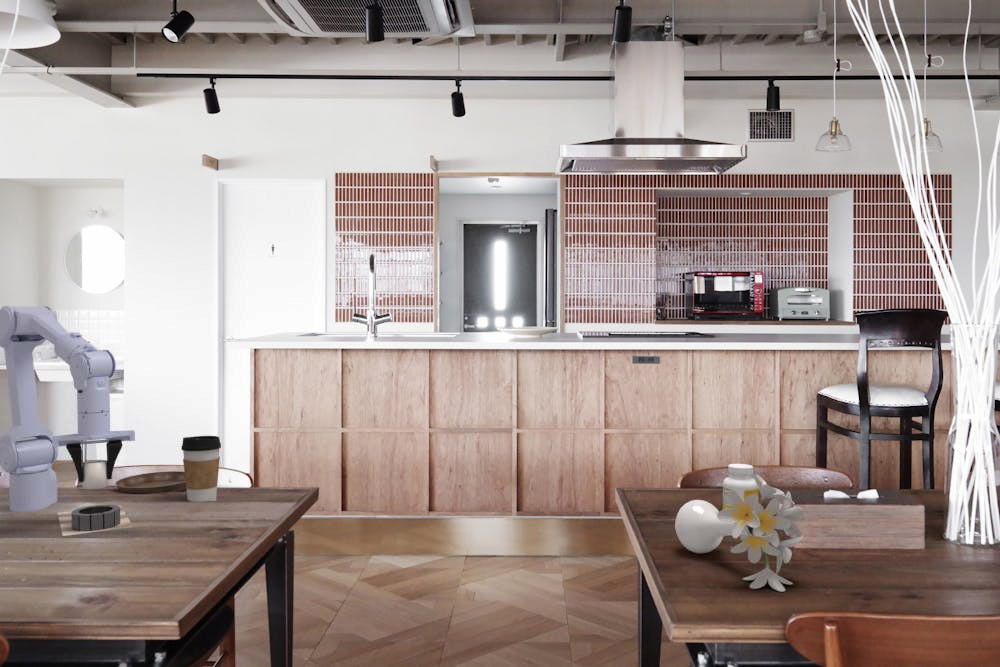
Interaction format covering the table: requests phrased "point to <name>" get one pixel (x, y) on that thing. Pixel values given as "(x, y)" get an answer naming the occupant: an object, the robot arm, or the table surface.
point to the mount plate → (66, 529)
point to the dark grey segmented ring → (95, 517)
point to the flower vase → (744, 529)
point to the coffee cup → (201, 467)
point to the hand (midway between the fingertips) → (95, 479)
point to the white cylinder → (94, 474)
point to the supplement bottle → (739, 483)
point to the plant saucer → (153, 482)
